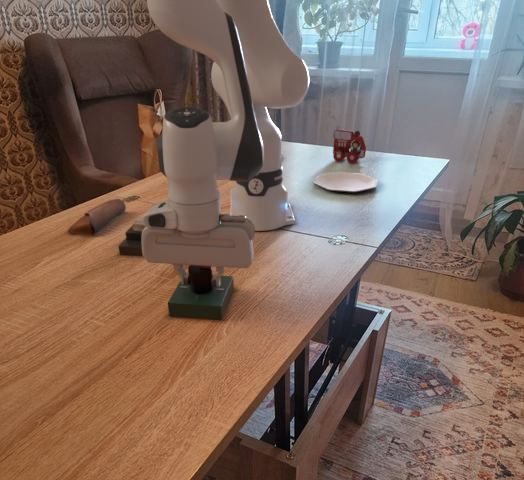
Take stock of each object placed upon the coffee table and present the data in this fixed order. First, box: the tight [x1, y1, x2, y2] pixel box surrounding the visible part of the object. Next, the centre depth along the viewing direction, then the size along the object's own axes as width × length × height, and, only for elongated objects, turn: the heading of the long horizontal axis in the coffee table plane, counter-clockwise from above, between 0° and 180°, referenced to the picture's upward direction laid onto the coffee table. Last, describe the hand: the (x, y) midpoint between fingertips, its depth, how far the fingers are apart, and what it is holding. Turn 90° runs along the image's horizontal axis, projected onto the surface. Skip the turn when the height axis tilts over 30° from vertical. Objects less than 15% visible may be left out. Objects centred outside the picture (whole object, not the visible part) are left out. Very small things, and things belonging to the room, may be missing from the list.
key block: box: [117, 225, 143, 257], centre depth 116 cm, size 14×8×4 cm, turn 172°
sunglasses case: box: [67, 198, 127, 237], centre depth 127 cm, size 18×7×7 cm
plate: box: [313, 171, 379, 194], centre depth 154 cm, size 20×20×2 cm
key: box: [131, 217, 146, 232], centre depth 114 cm, size 4×4×2 cm
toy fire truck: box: [332, 129, 367, 164], centre depth 176 cm, size 7×12×10 cm, turn 66°
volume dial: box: [187, 265, 213, 294], centre depth 91 cm, size 4×4×5 cm
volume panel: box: [167, 274, 235, 321], centre depth 93 cm, size 12×10×3 cm
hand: (201, 284), depth 91 cm, fingers closed on volume dial, 4 cm apart
